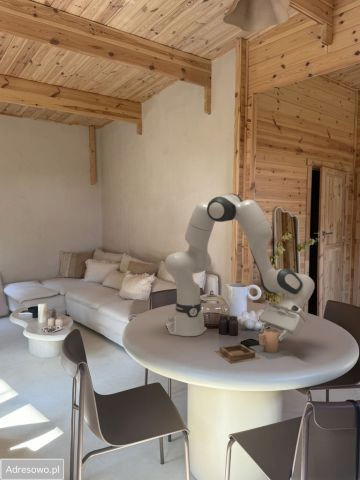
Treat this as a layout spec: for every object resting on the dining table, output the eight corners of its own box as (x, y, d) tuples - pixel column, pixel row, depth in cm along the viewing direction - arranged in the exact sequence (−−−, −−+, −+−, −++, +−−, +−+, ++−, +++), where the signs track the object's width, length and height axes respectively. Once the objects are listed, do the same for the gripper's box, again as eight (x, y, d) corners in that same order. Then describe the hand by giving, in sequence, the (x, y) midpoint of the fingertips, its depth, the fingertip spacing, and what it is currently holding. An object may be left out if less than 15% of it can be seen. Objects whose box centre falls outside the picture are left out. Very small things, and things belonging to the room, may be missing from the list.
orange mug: (255, 349, 148) (256, 330, 148) (272, 347, 151) (273, 328, 150) (263, 354, 143) (264, 334, 142) (281, 352, 146) (281, 332, 145)
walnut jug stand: (214, 355, 146) (214, 346, 146) (242, 350, 151) (242, 342, 151) (230, 367, 134) (230, 358, 134) (260, 362, 139) (260, 353, 139)
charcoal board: (248, 350, 152) (248, 346, 152) (272, 346, 156) (272, 343, 156) (268, 363, 139) (268, 359, 138) (294, 358, 143) (294, 354, 143)
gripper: (266, 299, 158) (249, 324, 154) (304, 310, 141) (284, 339, 137) (274, 308, 161) (256, 333, 157) (311, 319, 143) (293, 348, 139)
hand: (270, 336), depth 147 cm, fingers open, 8 cm apart
